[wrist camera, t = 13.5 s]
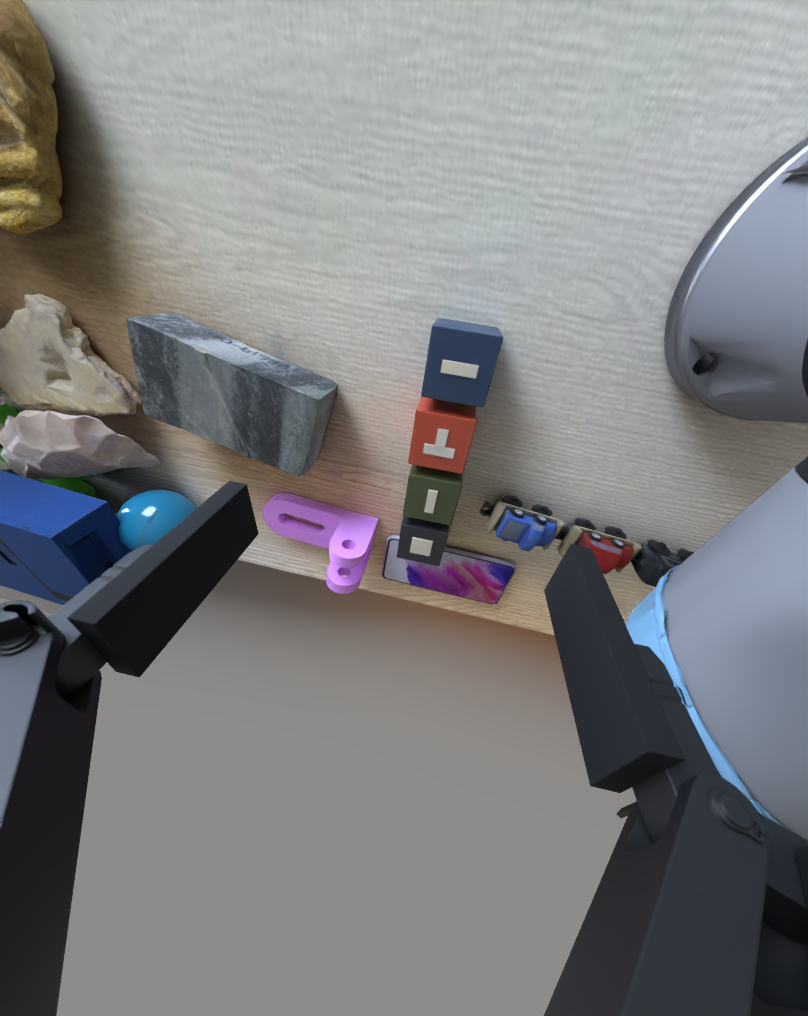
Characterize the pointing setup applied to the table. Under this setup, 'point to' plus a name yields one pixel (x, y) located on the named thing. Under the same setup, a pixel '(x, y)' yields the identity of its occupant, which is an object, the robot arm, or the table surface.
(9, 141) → the sculpture
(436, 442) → the letter block
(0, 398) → the fragment
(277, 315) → the table surface
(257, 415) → the stone block
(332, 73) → the table surface
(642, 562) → the toy train
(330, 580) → the bracket
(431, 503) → the block
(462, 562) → the smartphone
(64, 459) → the stone tool
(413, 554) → the block
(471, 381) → the block
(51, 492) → the electronic device
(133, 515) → the ball
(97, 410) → the stone
